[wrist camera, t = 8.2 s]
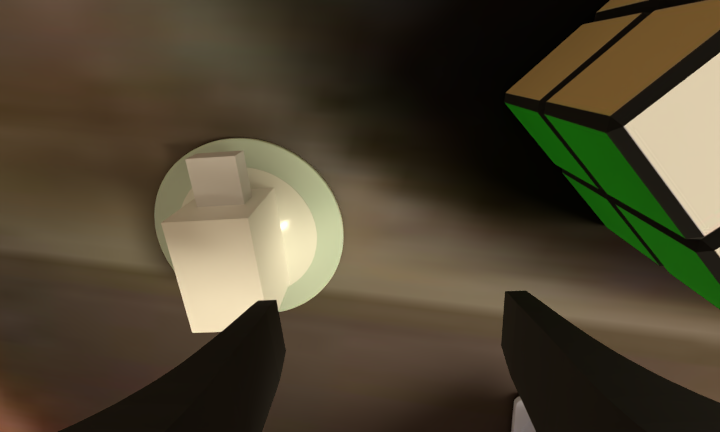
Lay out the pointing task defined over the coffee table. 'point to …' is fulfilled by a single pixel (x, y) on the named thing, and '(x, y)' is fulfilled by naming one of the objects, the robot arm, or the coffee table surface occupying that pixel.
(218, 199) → the connector
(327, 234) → the coaster
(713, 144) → the puzzle cube
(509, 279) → the coffee table surface
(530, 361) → the robot arm
